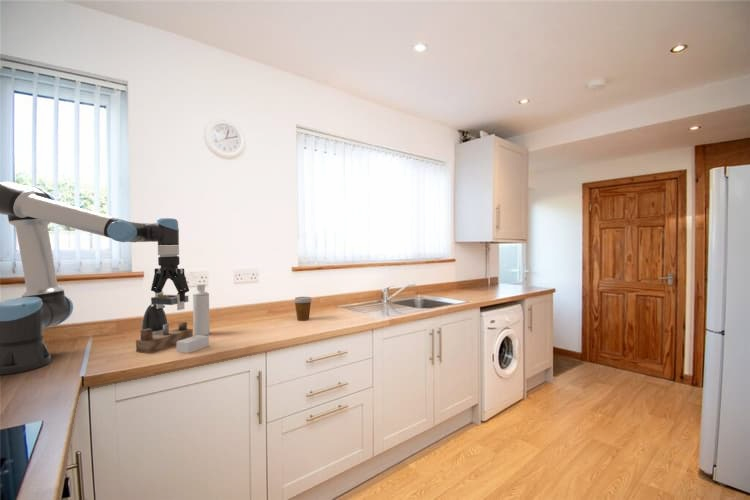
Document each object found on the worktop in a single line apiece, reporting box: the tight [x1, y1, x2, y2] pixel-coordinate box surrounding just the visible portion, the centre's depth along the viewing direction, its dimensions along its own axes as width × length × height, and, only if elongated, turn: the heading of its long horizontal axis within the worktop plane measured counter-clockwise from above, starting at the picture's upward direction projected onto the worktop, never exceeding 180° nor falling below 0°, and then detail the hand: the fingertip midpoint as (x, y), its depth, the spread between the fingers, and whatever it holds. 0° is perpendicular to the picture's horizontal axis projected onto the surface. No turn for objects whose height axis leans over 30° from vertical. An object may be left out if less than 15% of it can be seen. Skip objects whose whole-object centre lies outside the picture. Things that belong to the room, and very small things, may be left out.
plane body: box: [135, 321, 194, 354], centre depth 141 cm, size 20×7×8 cm, turn 160°
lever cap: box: [150, 293, 189, 306], centre depth 140 cm, size 8×11×4 cm
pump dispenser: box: [140, 303, 169, 335], centre depth 155 cm, size 10×10×15 cm
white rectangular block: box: [175, 335, 210, 354], centre depth 136 cm, size 10×6×4 cm, turn 160°
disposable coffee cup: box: [293, 296, 312, 322], centre depth 187 cm, size 10×10×12 cm
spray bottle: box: [192, 283, 211, 336], centre depth 158 cm, size 7×7×25 cm
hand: (170, 308), depth 140 cm, fingers closed on lever cap, 11 cm apart
